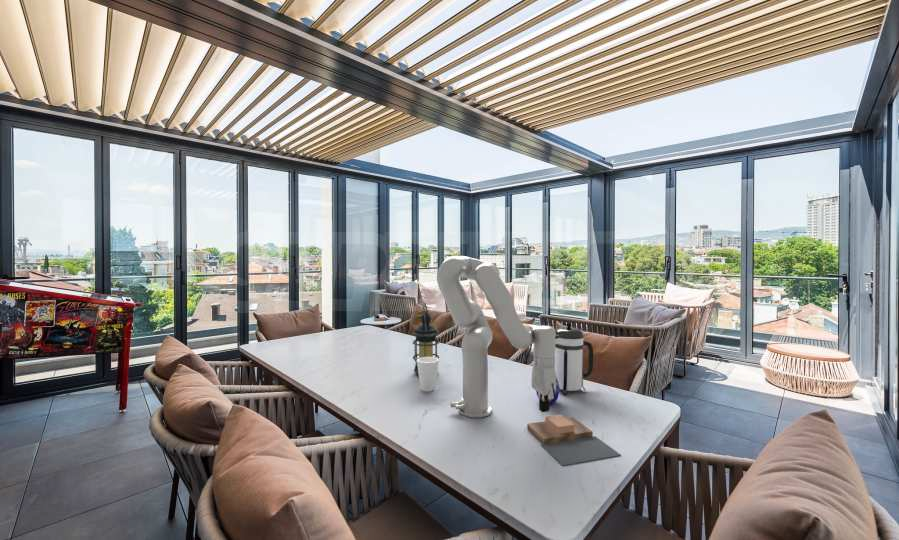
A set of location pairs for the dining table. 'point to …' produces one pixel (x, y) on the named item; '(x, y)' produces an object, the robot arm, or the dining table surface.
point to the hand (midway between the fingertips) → (544, 410)
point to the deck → (551, 436)
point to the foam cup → (427, 372)
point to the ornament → (555, 393)
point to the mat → (579, 450)
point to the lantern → (425, 338)
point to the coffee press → (571, 358)
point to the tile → (559, 424)
